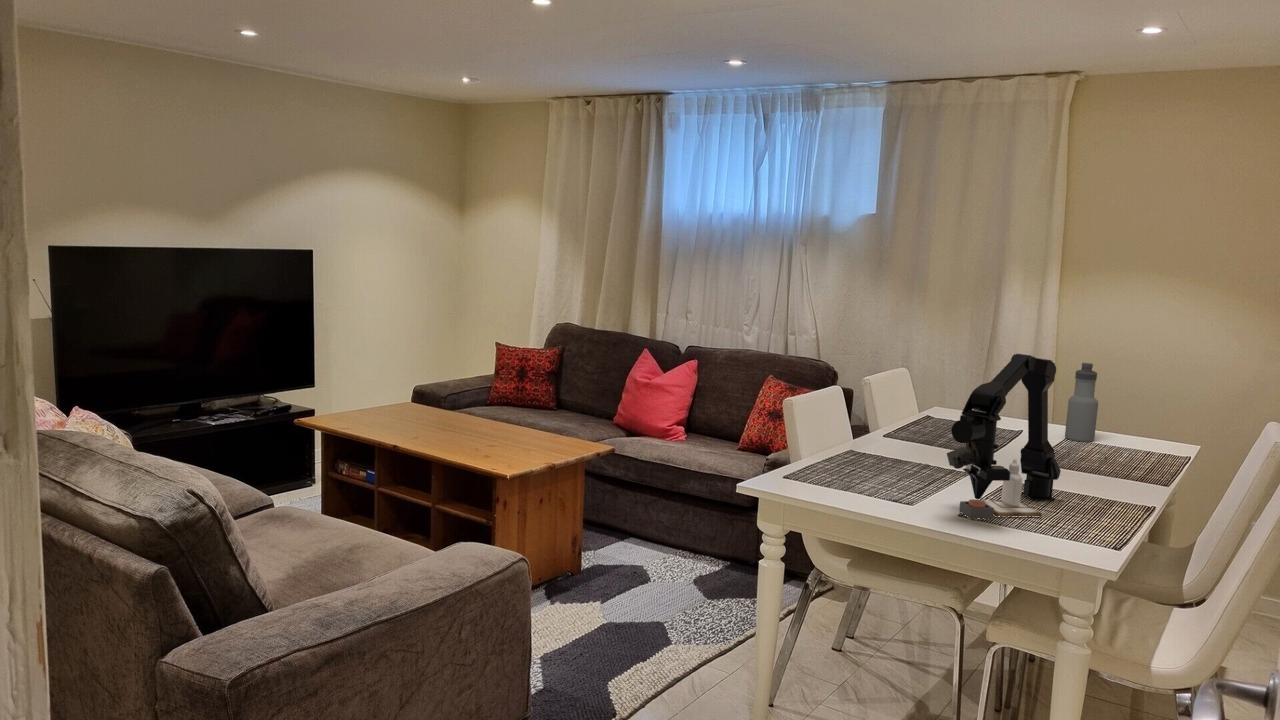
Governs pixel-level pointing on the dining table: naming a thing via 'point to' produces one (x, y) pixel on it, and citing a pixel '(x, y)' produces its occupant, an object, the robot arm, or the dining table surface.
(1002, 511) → the board
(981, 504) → the button
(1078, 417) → the water bottle
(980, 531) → the dining table surface
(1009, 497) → the eye dropper bottle
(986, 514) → the button housing
